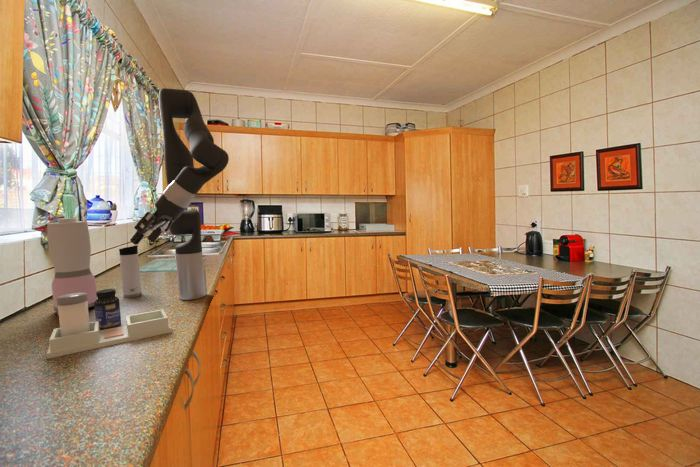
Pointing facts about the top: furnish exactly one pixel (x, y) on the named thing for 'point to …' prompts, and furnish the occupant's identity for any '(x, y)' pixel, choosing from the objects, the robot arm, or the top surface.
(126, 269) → the travel mug
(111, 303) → the pill bottle
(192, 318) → the top surface
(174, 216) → the robot arm
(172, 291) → the top surface
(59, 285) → the blender
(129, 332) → the cream compartment organizer
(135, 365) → the top surface
